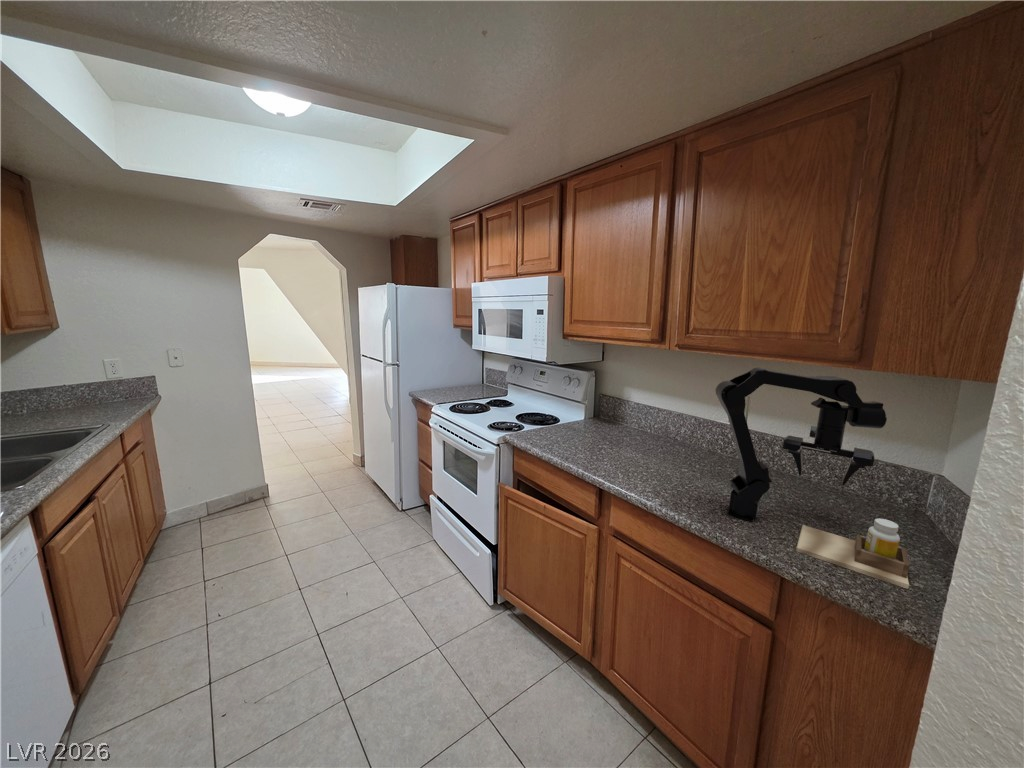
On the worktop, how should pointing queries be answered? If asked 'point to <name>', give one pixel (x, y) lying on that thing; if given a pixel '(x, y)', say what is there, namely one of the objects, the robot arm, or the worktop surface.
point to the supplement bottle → (883, 538)
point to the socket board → (854, 555)
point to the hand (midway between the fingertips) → (821, 479)
